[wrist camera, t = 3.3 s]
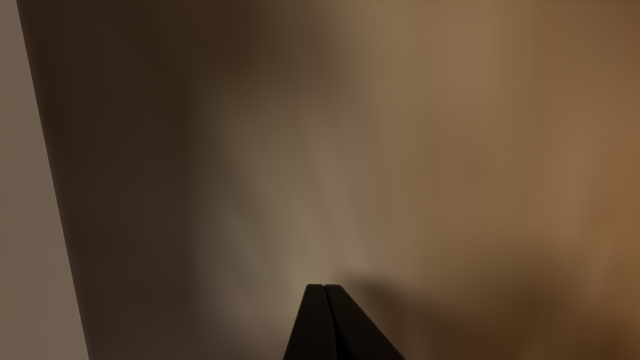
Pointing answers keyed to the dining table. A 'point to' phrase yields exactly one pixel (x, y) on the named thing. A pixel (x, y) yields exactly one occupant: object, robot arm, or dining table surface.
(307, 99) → the dining table surface
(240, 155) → the dining table surface
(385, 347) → the robot arm
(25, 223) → the gate
